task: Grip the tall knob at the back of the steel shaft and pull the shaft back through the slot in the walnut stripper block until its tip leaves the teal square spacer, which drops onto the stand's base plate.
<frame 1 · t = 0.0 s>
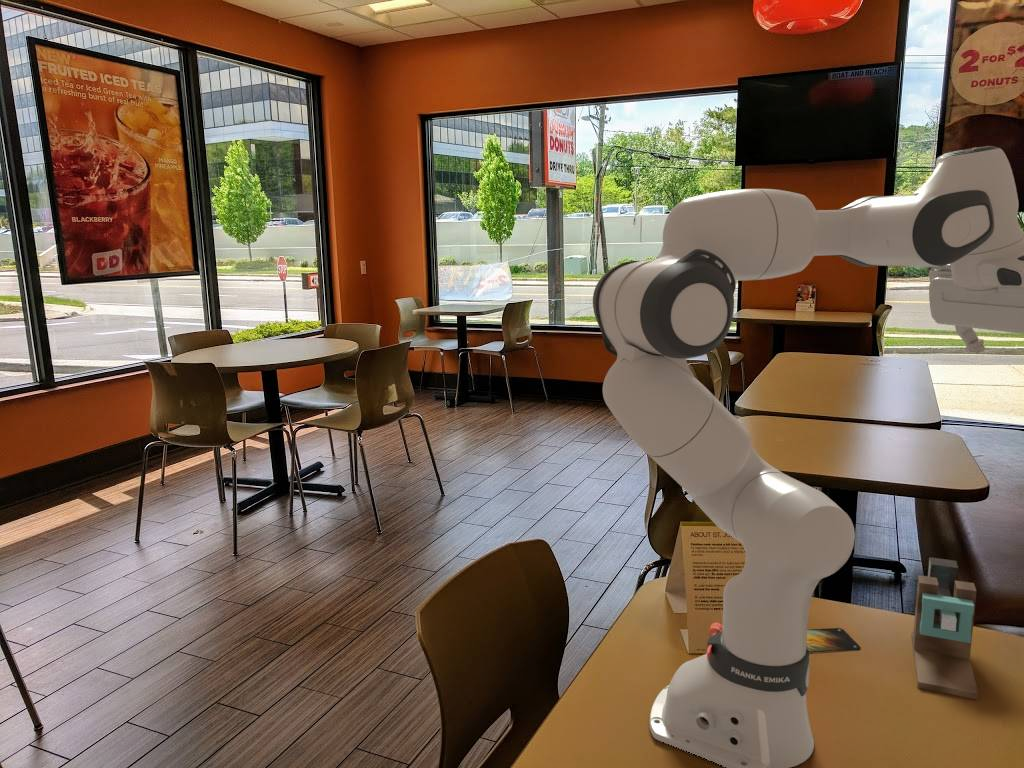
hand: (1004, 356, 104), 52 cm above the table, tool tilted 20°, fingers open, 8 cm apart
shaft: (945, 595, 121), point 10 cm above the table, slide at 0.0 cm, touching spacer
smartphone: (810, 644, 128), on the table
stand: (940, 656, 122), on the table
spacer: (944, 635, 119), point 5 cm above the table, touching shaft
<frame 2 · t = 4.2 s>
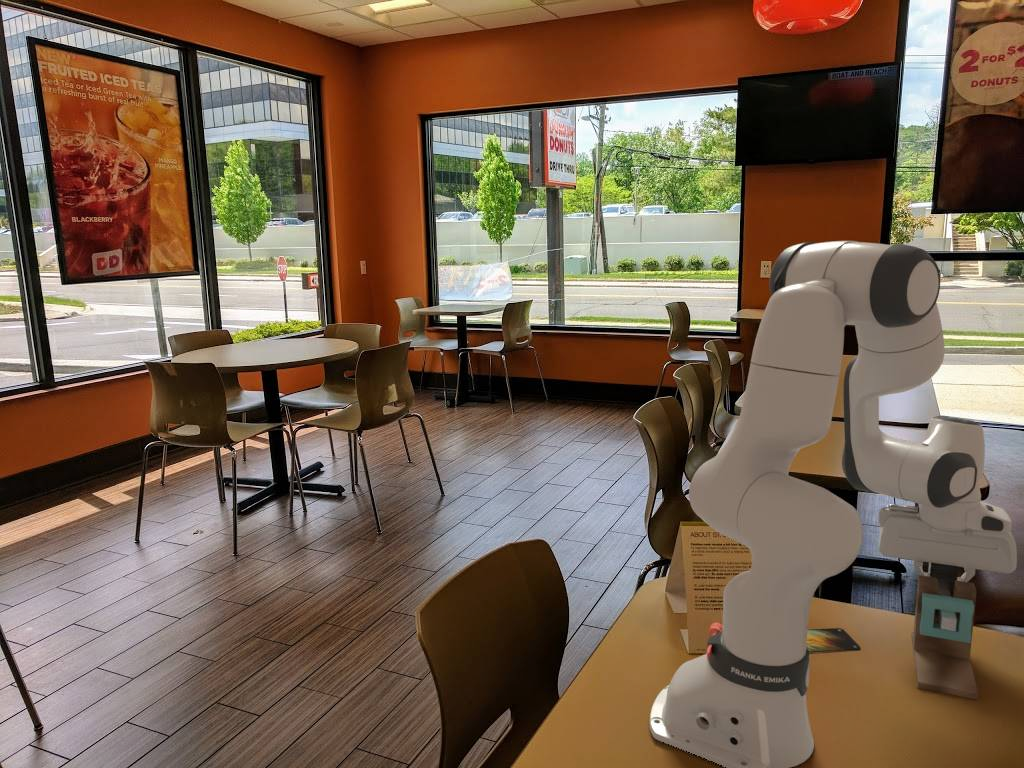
hand: (941, 586, 126), 10 cm above the table, tool pointing down, fingers closed on shaft, 4 cm apart
shaft: (945, 595, 121), point 10 cm above the table, slide at 0.0 cm, touching gripper, spacer
everything else where it was.
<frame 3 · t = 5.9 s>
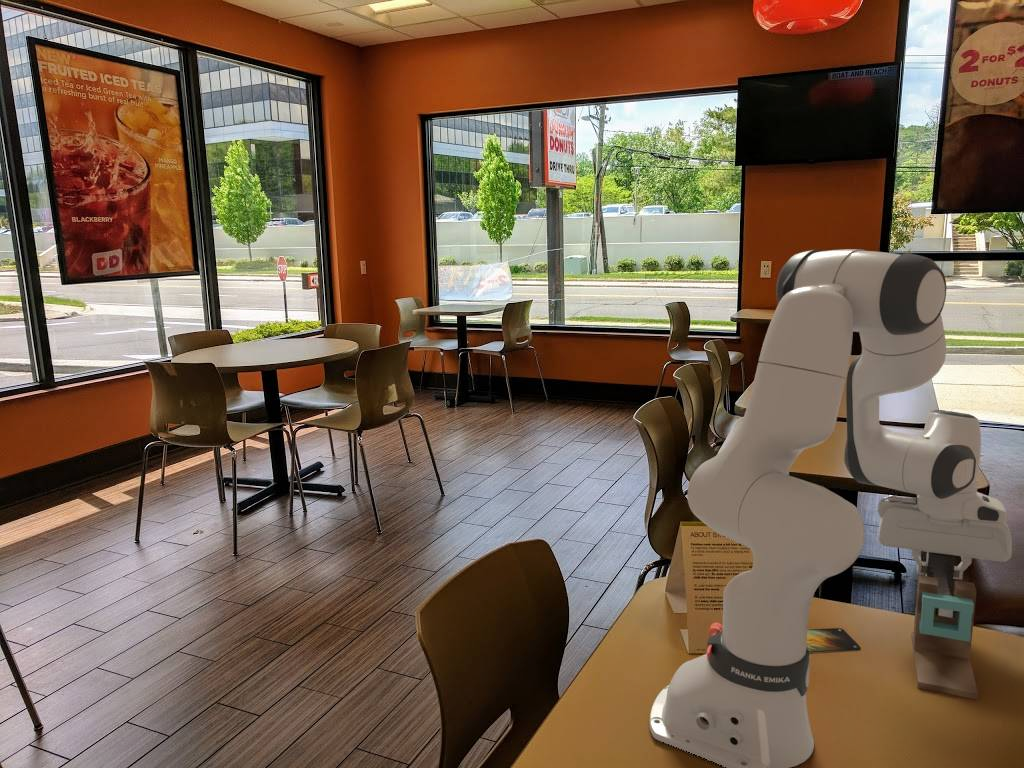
hand: (939, 575, 130), 10 cm above the table, tool pointing down, fingers closed on shaft, 4 cm apart
shaft: (942, 584, 125), point 10 cm above the table, slide at 4.5 cm, touching gripper
spacer: (944, 634, 119), point 5 cm above the table, touching stand
everything else where it was.
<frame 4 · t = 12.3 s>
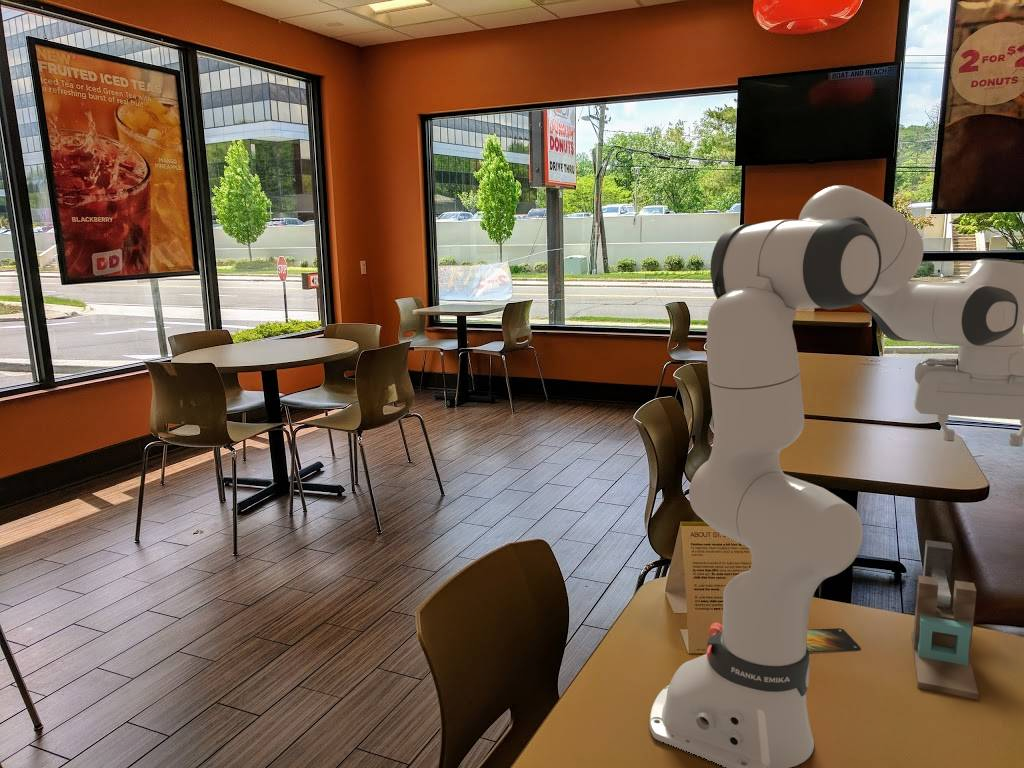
hand: (981, 443, 121), 35 cm above the table, tool pointing down, fingers open, 8 cm apart
shaft: (940, 575, 128), point 10 cm above the table, slide at 8.1 cm
spacer: (942, 657, 120), point 1 cm above the table, touching stand
everything else where it was.
at the end: spacer point 1.0 cm above the table; spacer inside the target area (4.9 cm from its centre), point 1.0 cm above the table; shaft slide at 8.1 cm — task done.
